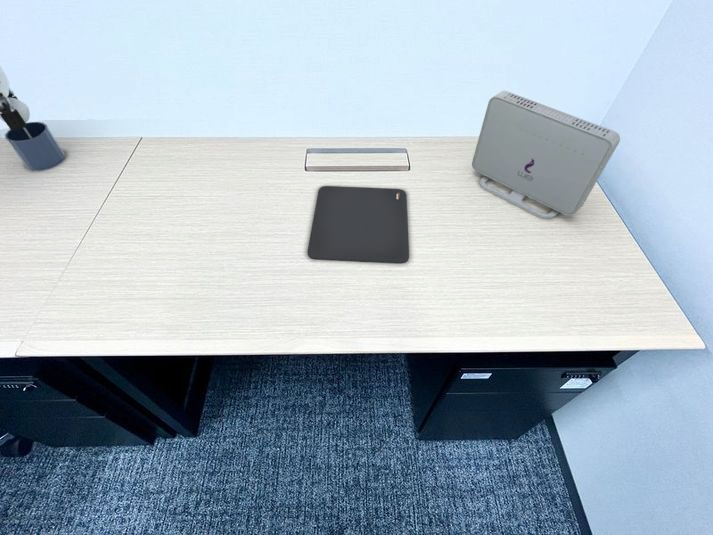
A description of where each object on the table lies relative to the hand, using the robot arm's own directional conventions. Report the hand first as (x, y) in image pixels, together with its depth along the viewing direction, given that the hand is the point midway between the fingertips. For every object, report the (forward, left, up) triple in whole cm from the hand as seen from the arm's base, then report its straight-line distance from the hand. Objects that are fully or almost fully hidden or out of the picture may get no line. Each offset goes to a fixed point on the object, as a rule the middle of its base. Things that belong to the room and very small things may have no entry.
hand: (18, 120), depth 91 cm
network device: (+95, -67, -11) cm, 117 cm away
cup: (0, 0, -11) cm, 11 cm away
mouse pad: (+57, -57, -11) cm, 82 cm away
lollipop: (0, 0, -10) cm, 10 cm away
